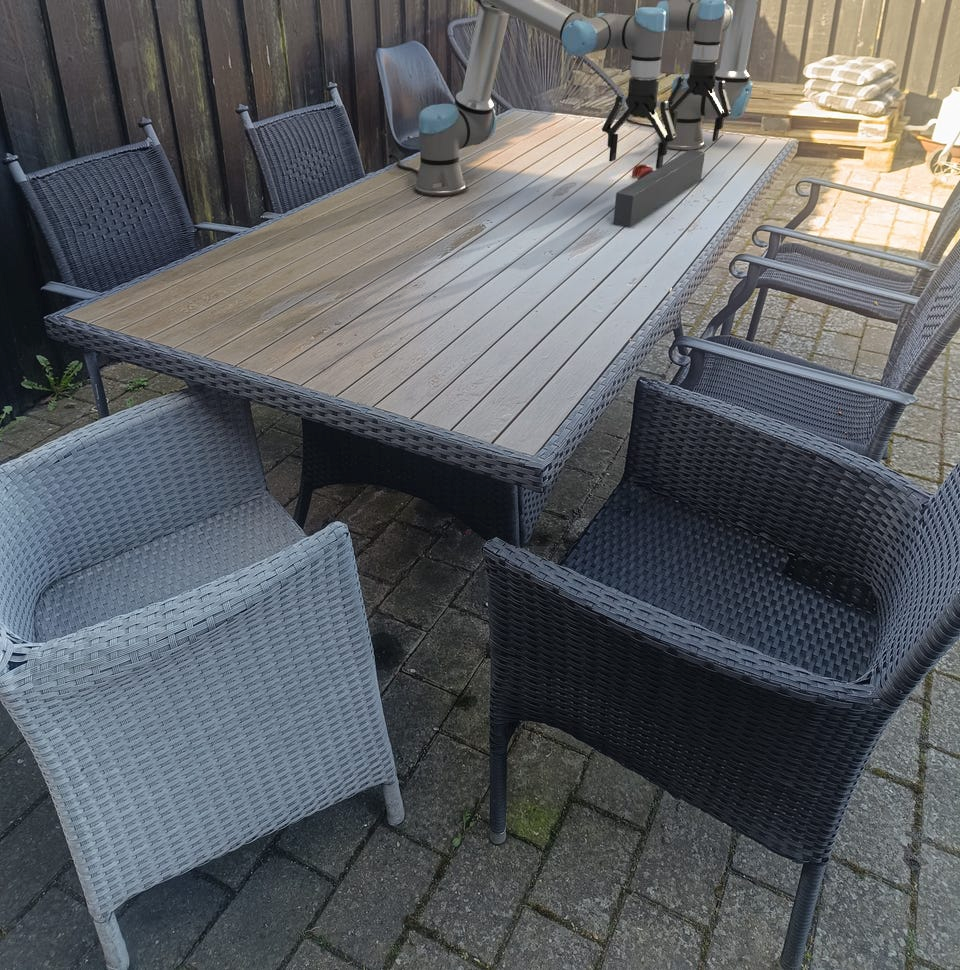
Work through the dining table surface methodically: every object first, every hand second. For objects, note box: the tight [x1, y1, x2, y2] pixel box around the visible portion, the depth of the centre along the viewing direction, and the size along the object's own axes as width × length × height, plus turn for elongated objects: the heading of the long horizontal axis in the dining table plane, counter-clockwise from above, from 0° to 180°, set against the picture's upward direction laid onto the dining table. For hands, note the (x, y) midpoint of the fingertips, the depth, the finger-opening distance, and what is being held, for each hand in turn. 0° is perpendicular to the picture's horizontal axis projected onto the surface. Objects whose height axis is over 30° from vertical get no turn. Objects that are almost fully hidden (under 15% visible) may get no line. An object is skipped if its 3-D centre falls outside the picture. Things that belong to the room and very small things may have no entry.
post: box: [613, 149, 706, 228], centre depth 247 cm, size 54×5×8 cm, turn 147°
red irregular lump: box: [631, 163, 654, 180], centre depth 267 cm, size 6×4×8 cm
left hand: (635, 164), depth 226 cm, fingers open, 13 cm apart
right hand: (693, 137), depth 257 cm, fingers open, 13 cm apart
